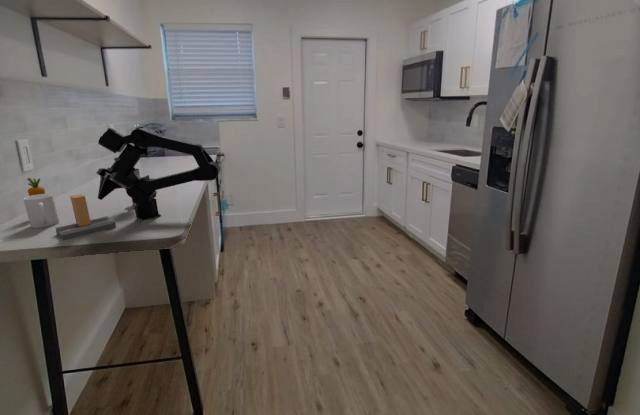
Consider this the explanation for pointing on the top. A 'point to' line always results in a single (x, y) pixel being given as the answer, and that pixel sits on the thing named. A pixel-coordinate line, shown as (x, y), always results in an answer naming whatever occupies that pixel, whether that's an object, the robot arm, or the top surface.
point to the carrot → (35, 187)
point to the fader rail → (85, 228)
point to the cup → (41, 210)
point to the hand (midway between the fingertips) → (99, 199)
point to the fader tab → (80, 210)
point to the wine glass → (125, 188)
